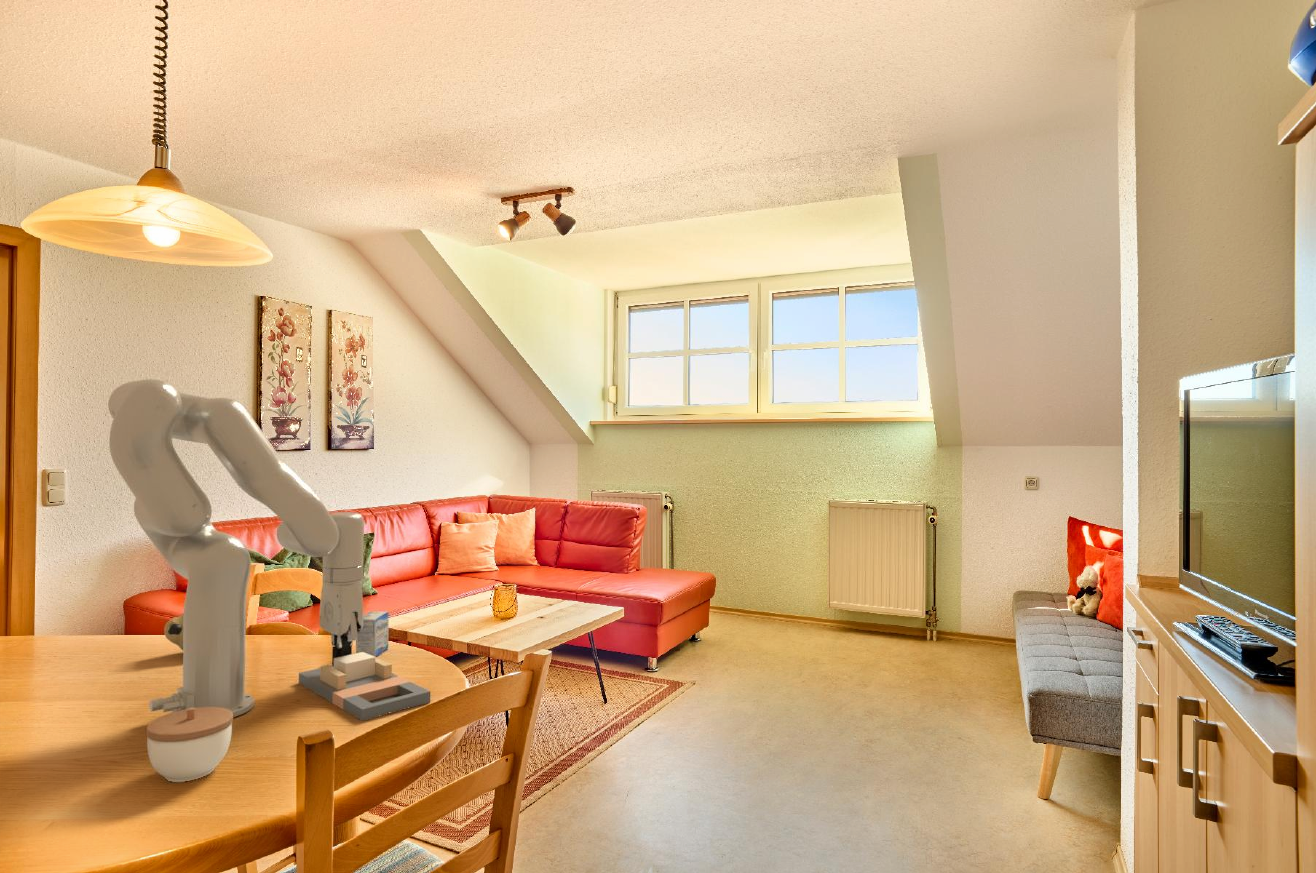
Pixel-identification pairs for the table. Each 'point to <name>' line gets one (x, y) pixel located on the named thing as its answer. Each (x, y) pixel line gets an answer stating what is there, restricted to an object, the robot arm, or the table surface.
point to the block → (356, 665)
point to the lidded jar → (189, 742)
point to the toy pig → (175, 630)
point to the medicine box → (373, 634)
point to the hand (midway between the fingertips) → (341, 665)
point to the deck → (365, 690)
